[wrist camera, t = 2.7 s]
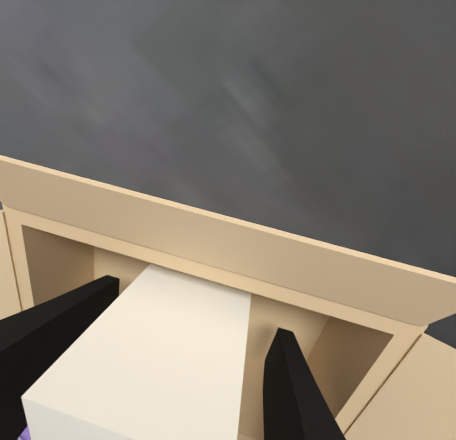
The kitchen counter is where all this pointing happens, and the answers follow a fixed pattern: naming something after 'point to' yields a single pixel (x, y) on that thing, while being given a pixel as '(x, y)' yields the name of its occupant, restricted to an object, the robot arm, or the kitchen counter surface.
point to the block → (150, 366)
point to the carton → (252, 282)
